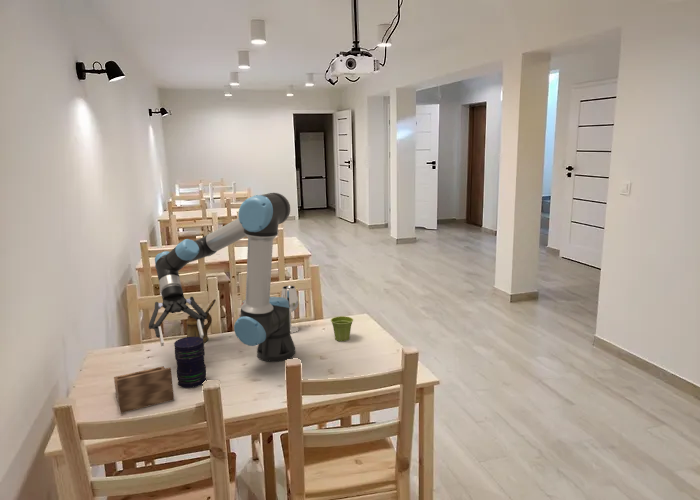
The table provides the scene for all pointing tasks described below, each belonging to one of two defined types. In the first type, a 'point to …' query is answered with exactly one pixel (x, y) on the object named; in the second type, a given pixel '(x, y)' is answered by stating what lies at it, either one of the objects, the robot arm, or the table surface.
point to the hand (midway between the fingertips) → (182, 340)
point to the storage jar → (190, 362)
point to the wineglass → (290, 301)
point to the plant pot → (342, 327)
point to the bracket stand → (144, 388)
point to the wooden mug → (193, 327)
